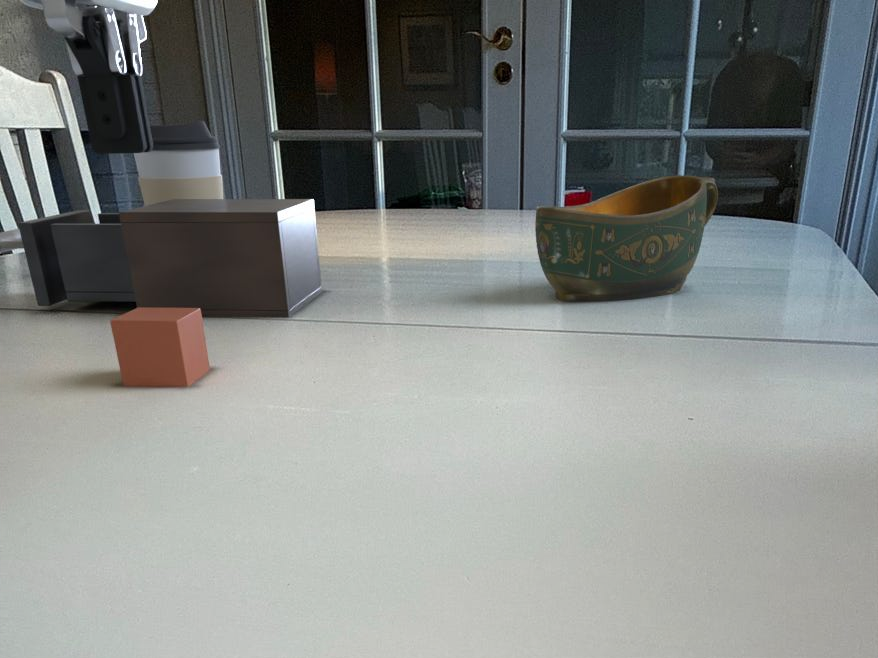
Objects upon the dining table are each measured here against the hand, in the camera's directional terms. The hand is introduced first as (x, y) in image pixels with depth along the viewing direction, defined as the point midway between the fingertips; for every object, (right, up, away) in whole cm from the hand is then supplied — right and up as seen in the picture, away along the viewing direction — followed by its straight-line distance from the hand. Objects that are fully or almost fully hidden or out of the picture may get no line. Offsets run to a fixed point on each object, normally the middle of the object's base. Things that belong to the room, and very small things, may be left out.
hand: (123, 152), depth 55 cm
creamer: (+36, +4, +34) cm, 50 cm away
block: (+1, -12, +6) cm, 14 cm away
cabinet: (-1, +2, +29) cm, 30 cm away
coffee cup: (-10, +10, +45) cm, 47 cm away
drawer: (-14, +3, +30) cm, 33 cm away
